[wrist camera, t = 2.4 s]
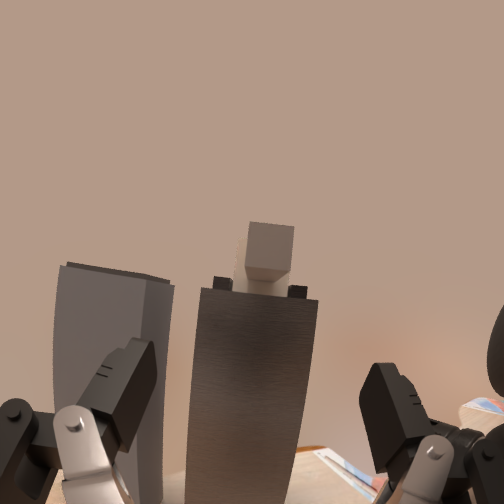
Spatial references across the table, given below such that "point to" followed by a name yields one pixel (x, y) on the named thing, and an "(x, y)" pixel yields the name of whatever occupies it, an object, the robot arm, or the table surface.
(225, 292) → the stand
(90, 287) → the tall grey square pillar
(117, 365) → the robot arm
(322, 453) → the table surface
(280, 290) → the plug
